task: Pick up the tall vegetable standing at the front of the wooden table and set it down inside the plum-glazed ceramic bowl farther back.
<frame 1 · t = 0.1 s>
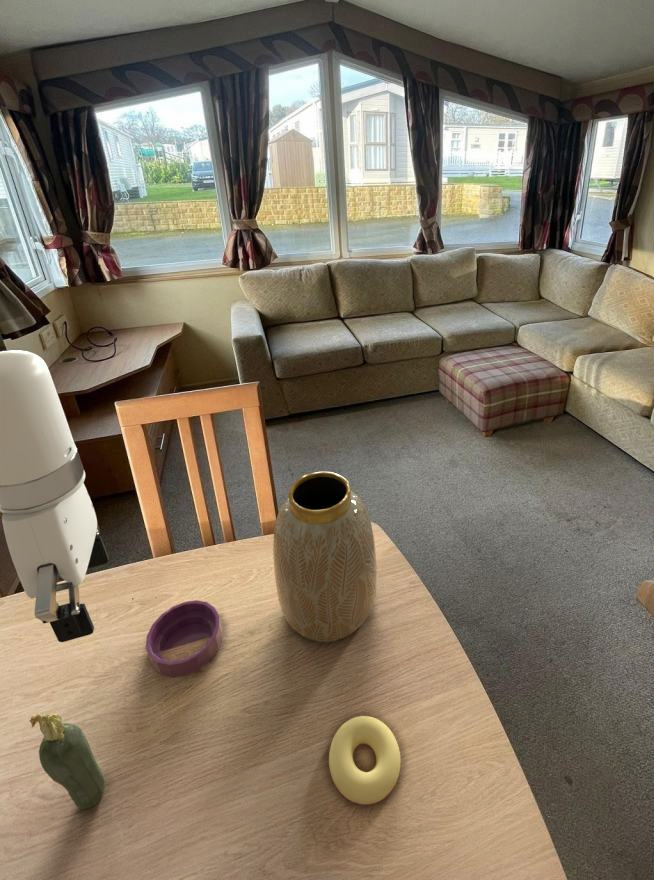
hand: (86, 597, 54), 30 cm above the table, tool pointing down, fingers open, 9 cm apart
donut: (365, 765, 66), on the table
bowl: (188, 648, 81), on the table
vegetable: (94, 807, 62), on the table
vase: (329, 609, 87), on the table
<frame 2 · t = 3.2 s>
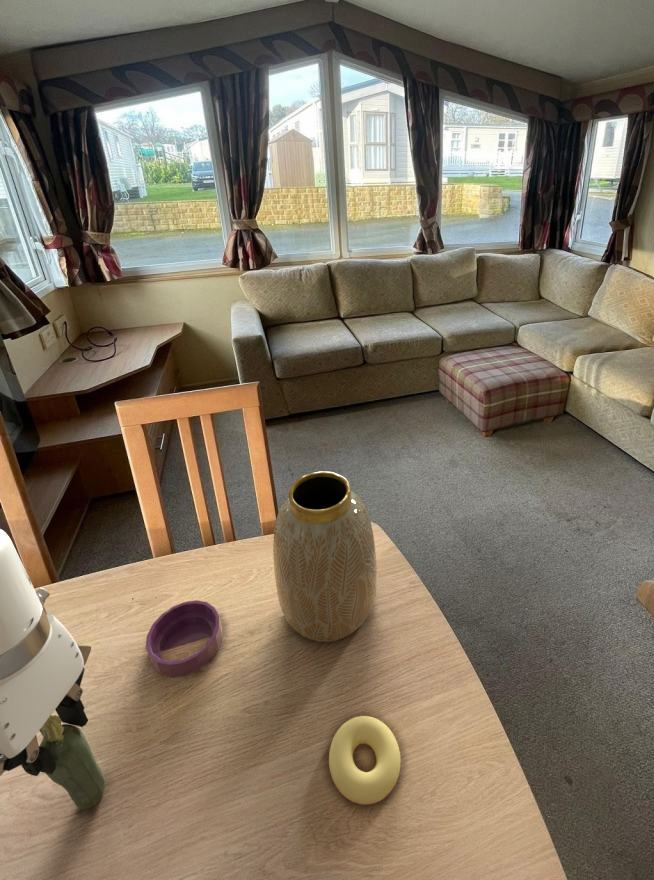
hand: (59, 743, 55), 15 cm above the table, tool pointing down, fingers closed on vegetable, 4 cm apart
vegetable: (95, 807, 62), on the table, touching gripper
everything else where it was.
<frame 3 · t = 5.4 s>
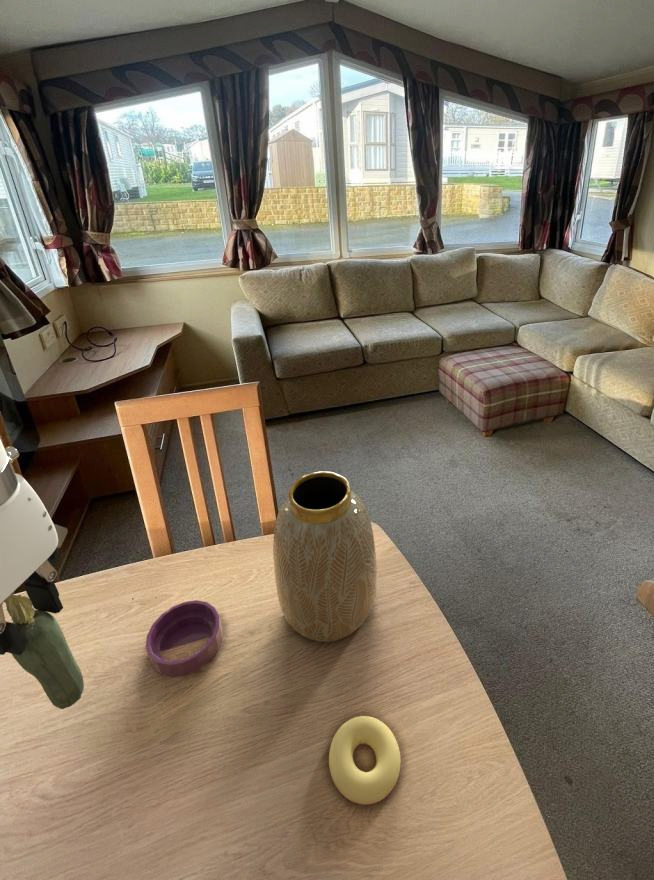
hand: (30, 627, 50), 31 cm above the table, tool pointing down, fingers closed on vegetable, 4 cm apart
vegetable: (73, 708, 57), point 16 cm above the table, touching gripper
everything else where it was.
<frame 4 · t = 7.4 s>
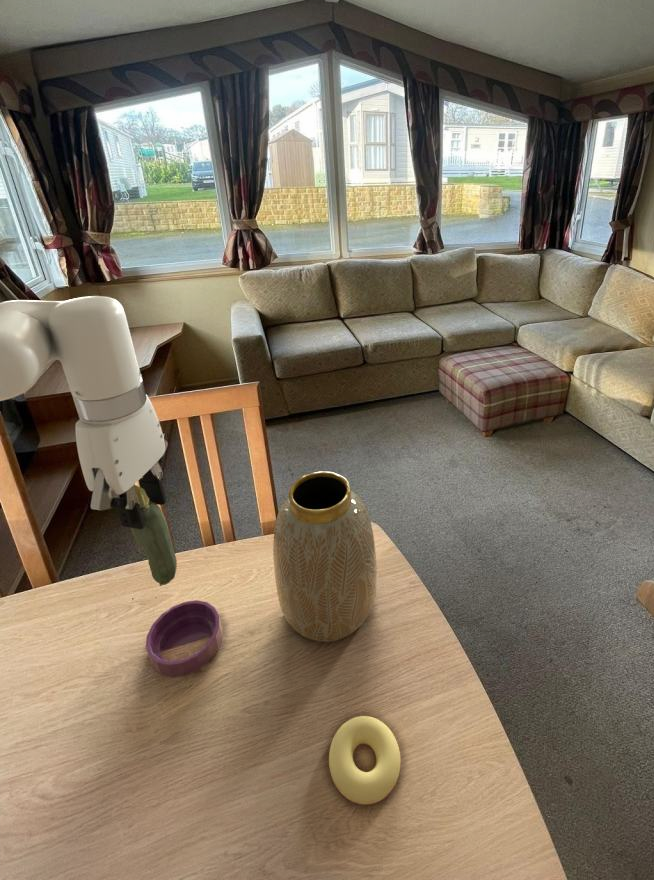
hand: (144, 513, 67), 30 cm above the table, tool pointing down, fingers closed on vegetable, 4 cm apart
vegetable: (168, 586, 74), point 15 cm above the table, touching gripper
everything else where it was.
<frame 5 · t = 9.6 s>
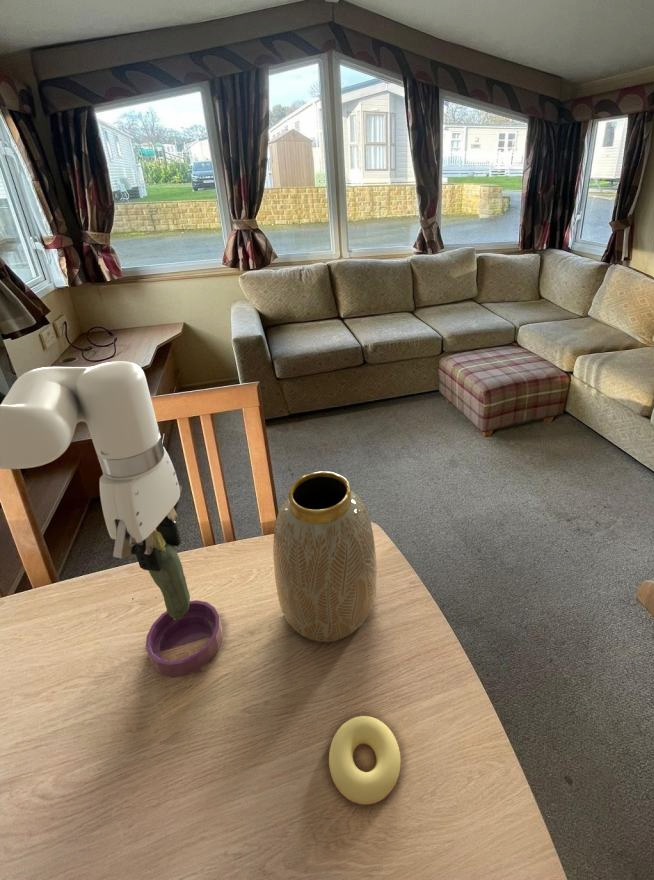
hand: (161, 554, 71), 21 cm above the table, tool pointing down, fingers closed on vegetable, 4 cm apart
vegetable: (182, 620, 78), point 7 cm above the table, touching gripper
everything else where it was.
when the fingers open (15 cm above the table, at t = 11.6 s): vegetable stays where it is, resting on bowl.
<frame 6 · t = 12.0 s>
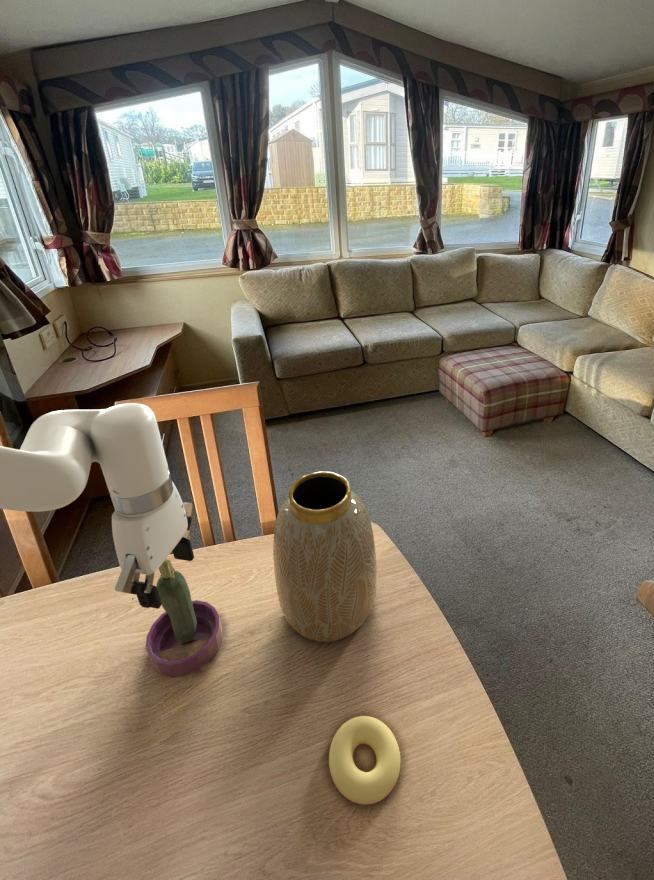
hand: (168, 580, 73), 16 cm above the table, tool pointing down, fingers open, 8 cm apart
vegetable: (188, 645, 81), resting on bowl
everything else where it was.
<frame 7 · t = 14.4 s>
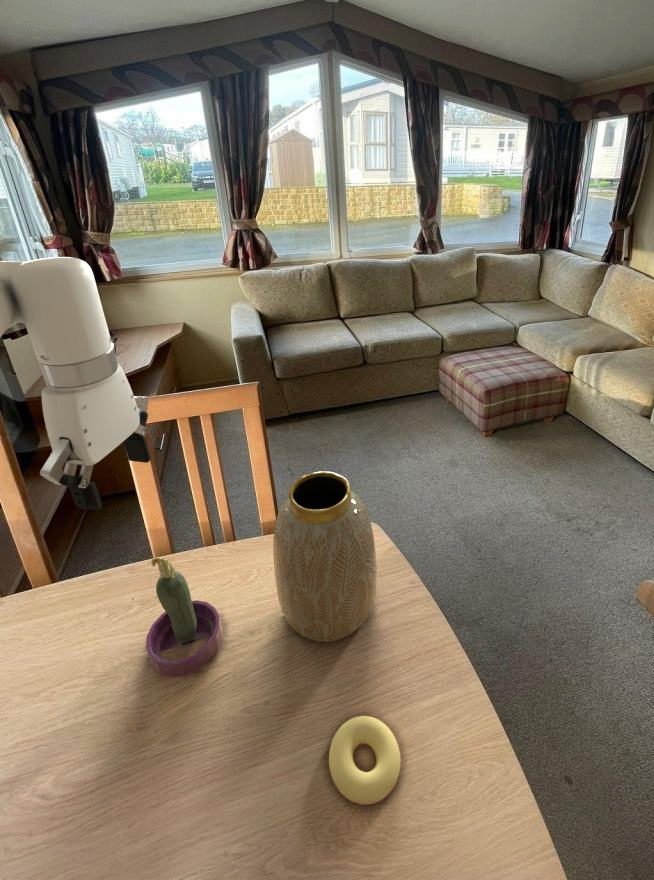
hand: (116, 482, 64), 36 cm above the table, tool pointing down, fingers open, 9 cm apart
nothing on the table moved.
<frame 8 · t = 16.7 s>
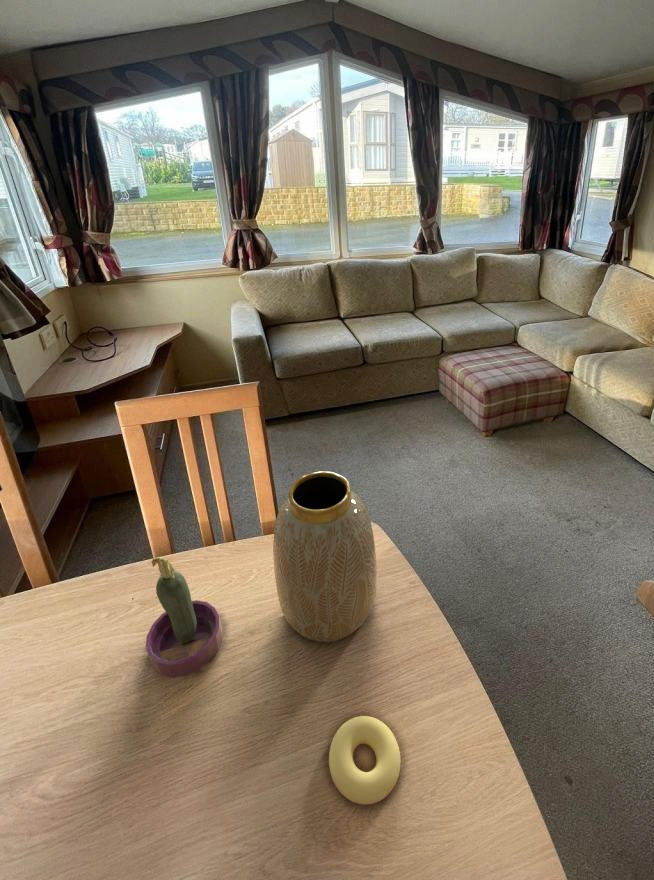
nothing on the table moved.
at the end: vegetable inside the target area in the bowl (0.2 cm from its centre), point 0.4 cm above the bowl's base; the gripper is holding nothing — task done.
